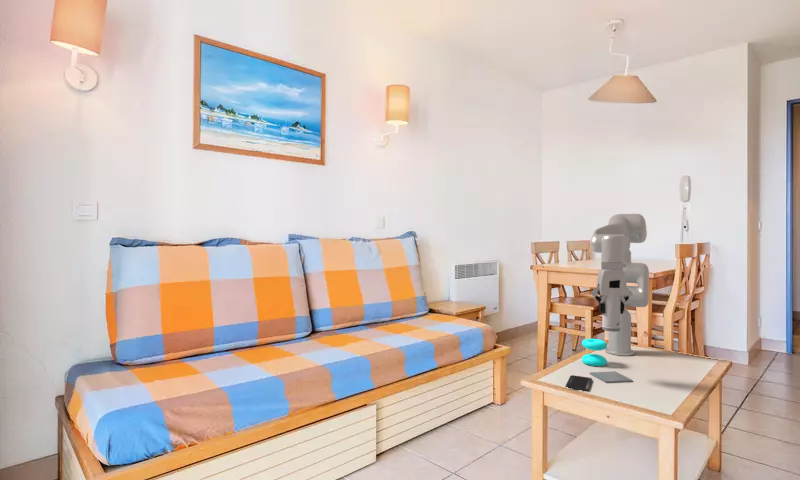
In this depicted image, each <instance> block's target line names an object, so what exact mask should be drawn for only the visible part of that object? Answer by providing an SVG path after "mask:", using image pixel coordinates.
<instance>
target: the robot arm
mask: <svg viewBox="0 0 800 480" xmlns="http://www.w3.org/2000/svg"><path fill="white" fill-rule="evenodd" d="M647 234H648V231H647V222H646V219H645V217H644V215H642V214H641V213H617V214H614V215H612V216H611V217H610V218H609V220H608V223H607V225H603V226H601V227H599V228H598V227H597V228H596V229H595V230H594V231H593V233H592V235H591V239H590V248H591V250H592V251H593V252H595V253H599V254H601V258H600V259H601V265H600V267H601V268H600V269H599V270H598V272H597V278H596V287H594V289H593V290H592V291H590V295H591V296H592V297H593V298H594V299H595V300H596V301H597V302H598V311H599V313H600V314H602V315H603V314H604V313H605V303H604V300H605V298H606V296H607V295H608V290H609V286H610V285H609V281H617V280H620V296H621V306H620V331H617V332H612V331H608V341H607V348H606V349H604V351H605V353H608V354H611V355H613V356H614V355H615V356H621V357H622V356H624V357H625V356H626V357H627V356H630V357H631V356H634V355H635V350H634V349H632V315H631V313H630V311H629V310H628V309H627V308H626V307H634V308H646V307H647V306H648V305H649V301H650V270H649V267H648V265H647V264H646V263H643V262H632V251H631V250H630V248H631V244H641V243H644V242H646V239H647V236H648V235H647ZM627 284H636V285H627ZM637 285H638V286H637Z"/></svg>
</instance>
